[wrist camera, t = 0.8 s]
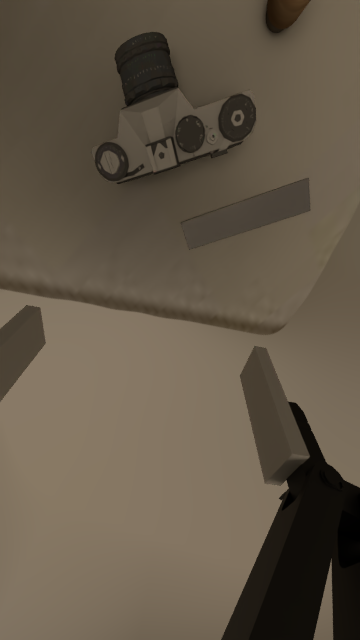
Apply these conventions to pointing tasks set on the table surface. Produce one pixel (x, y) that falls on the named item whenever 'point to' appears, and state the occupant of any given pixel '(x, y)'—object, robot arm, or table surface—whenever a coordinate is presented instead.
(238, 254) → the table surface
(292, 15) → the brown rounded cylinder
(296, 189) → the strip
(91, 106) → the table surface
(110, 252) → the table surface
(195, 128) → the camera
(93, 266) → the table surface
